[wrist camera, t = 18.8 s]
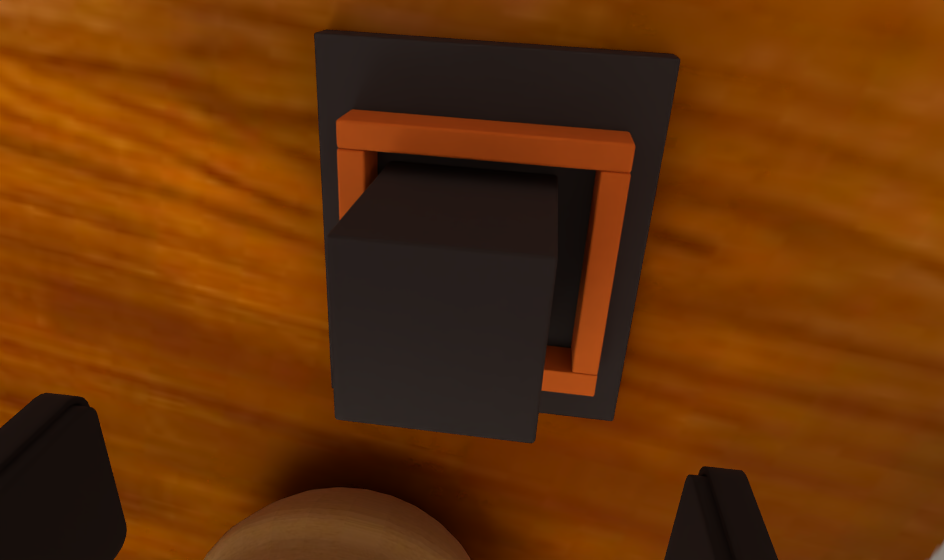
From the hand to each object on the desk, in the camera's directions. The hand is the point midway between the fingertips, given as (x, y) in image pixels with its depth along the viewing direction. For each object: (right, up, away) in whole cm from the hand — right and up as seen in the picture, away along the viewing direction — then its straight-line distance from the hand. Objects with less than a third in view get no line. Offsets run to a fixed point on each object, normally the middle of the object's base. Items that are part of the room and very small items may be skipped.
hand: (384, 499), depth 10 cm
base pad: (+2, +5, +11) cm, 12 cm away
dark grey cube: (+1, +5, +10) cm, 11 cm away
